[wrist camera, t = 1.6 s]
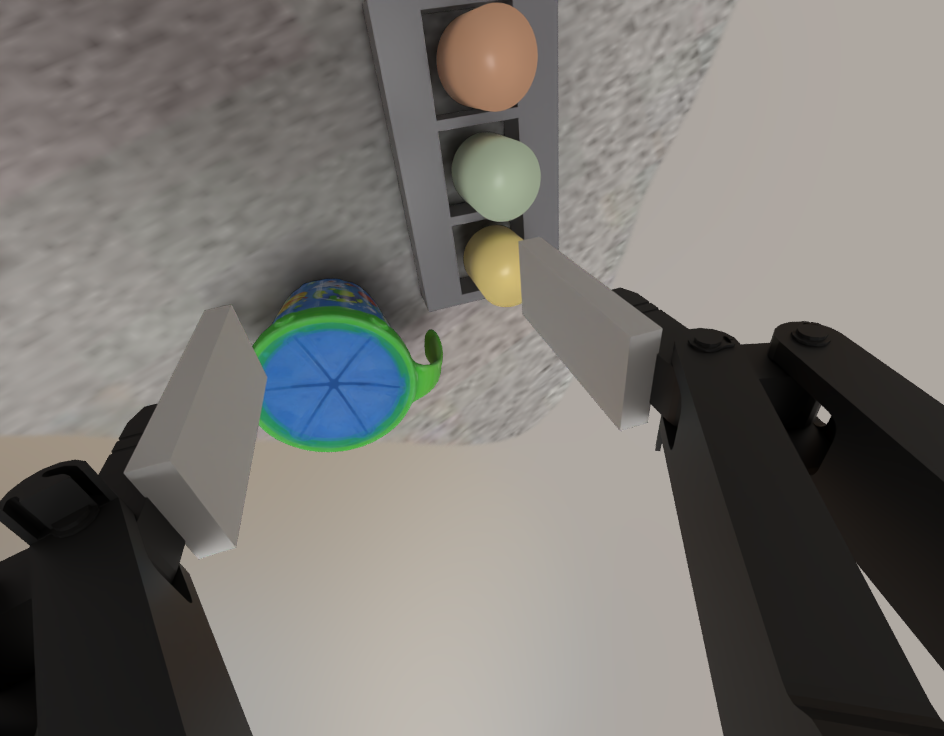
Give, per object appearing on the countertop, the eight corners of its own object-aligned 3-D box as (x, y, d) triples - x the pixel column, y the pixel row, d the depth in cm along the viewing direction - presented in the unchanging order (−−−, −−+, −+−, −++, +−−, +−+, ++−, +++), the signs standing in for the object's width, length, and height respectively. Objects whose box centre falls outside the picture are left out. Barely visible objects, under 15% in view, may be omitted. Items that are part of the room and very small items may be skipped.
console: (362, 4, 26) (366, -3, 23) (537, -18, 27) (557, -26, 25) (422, 296, 37) (428, 312, 34) (543, 268, 38) (558, 281, 36)
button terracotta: (430, 17, 24) (446, 8, 21) (508, 7, 25) (536, -3, 22) (443, 113, 27) (459, 118, 24) (513, 101, 27) (539, 104, 24)
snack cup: (223, 366, 35) (193, 454, 27) (221, 237, 30) (184, 297, 22) (412, 379, 41) (435, 455, 33) (437, 273, 36) (471, 331, 28)
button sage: (446, 138, 28) (462, 146, 24) (515, 126, 28) (539, 132, 25) (456, 212, 30) (472, 228, 27) (519, 199, 31) (541, 213, 28)
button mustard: (459, 232, 31) (475, 250, 28) (520, 219, 32) (542, 235, 29) (467, 291, 34) (482, 313, 31) (523, 277, 34) (543, 298, 31)
